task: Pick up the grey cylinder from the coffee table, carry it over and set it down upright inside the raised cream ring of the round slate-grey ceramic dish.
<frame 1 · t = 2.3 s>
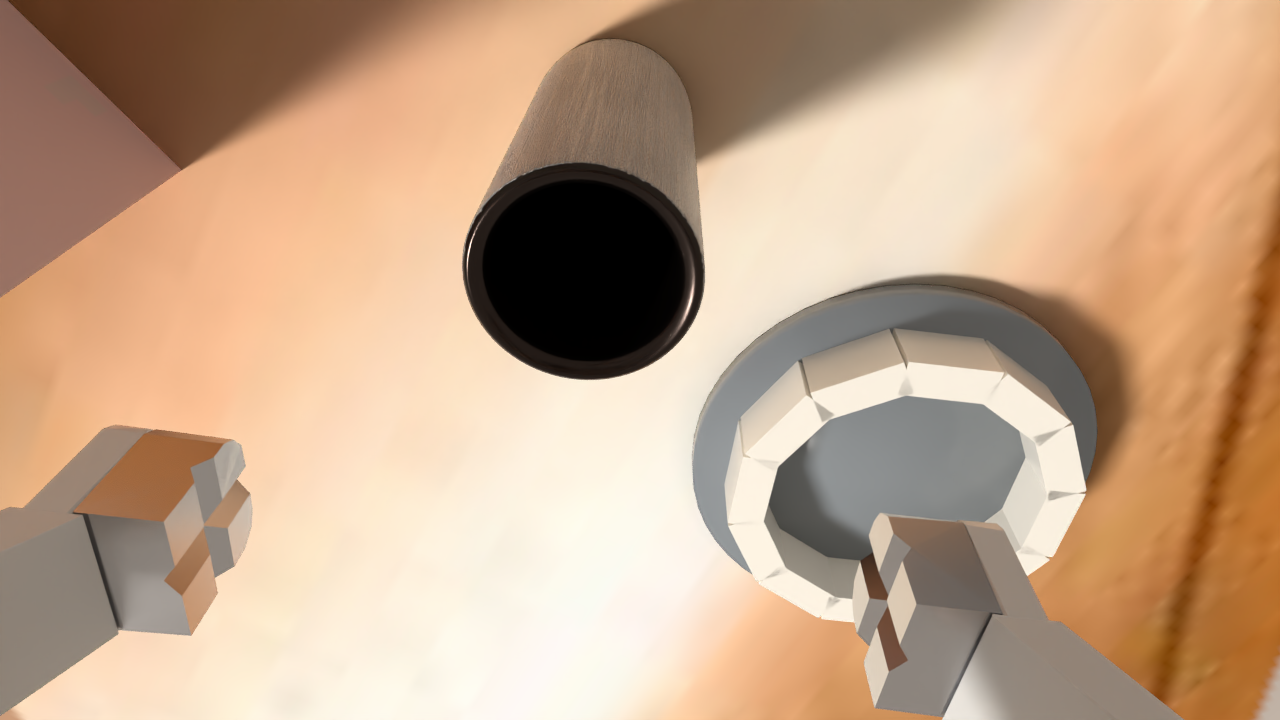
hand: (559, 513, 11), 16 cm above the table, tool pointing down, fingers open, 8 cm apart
greeting card: (17, 43, 24), on the table
ring dish: (884, 456, 31), on the table
grey cylinder: (613, 117, 24), on the table
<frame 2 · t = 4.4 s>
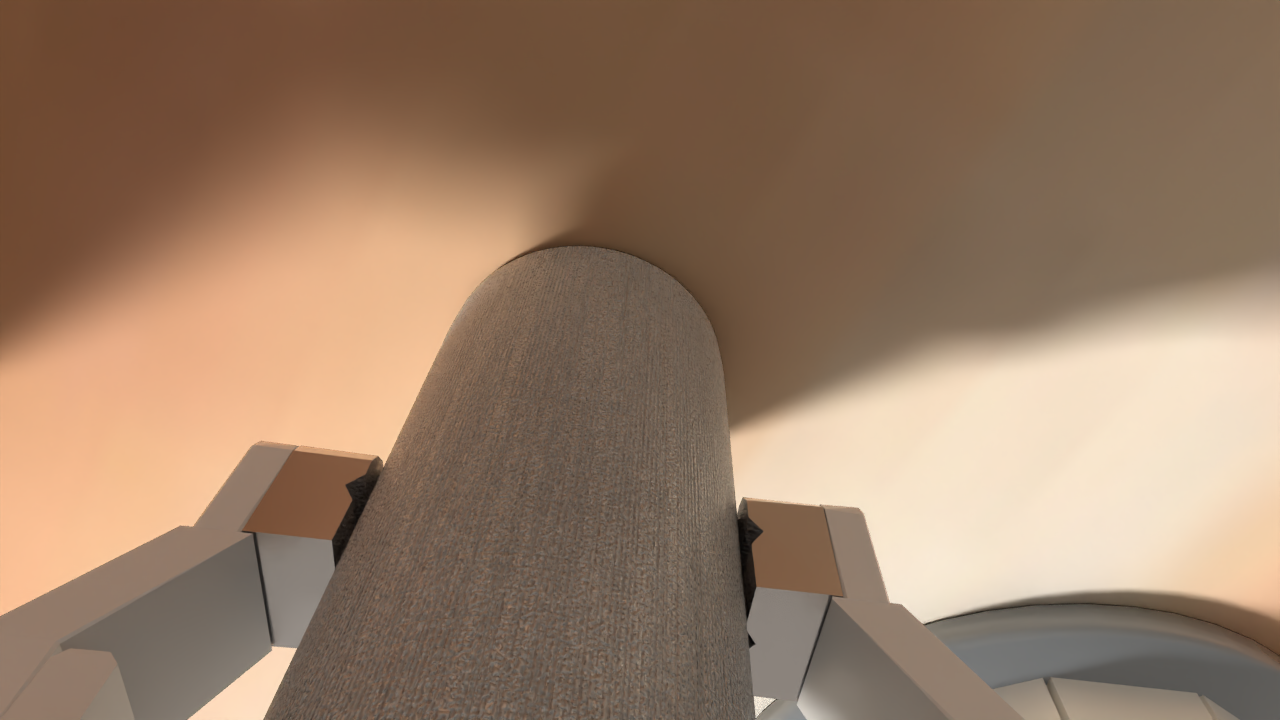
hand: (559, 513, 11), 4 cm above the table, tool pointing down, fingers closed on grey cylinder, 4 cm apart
grey cylinder: (586, 361, 14), on the table, touching gripper
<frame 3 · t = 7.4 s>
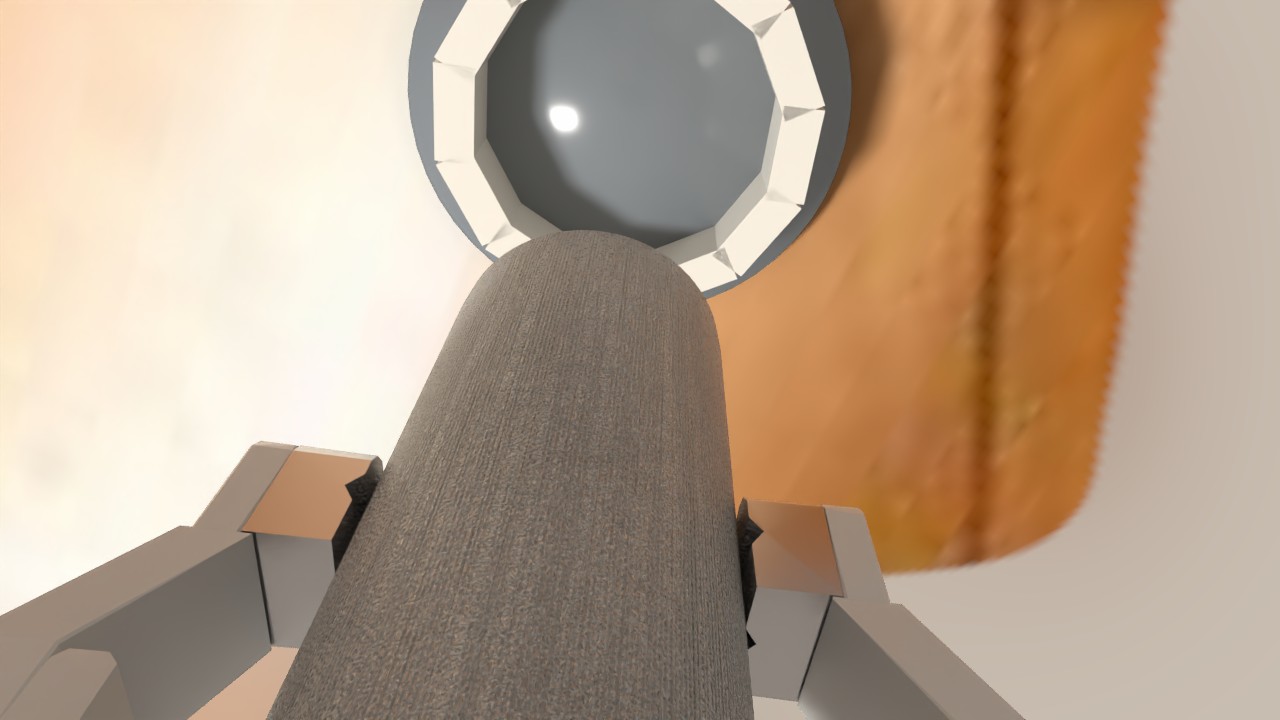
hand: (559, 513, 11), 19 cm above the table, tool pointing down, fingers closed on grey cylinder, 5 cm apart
ring dish: (629, 110, 27), on the table
grey cylinder: (590, 341, 15), point 15 cm above the table, touching gripper
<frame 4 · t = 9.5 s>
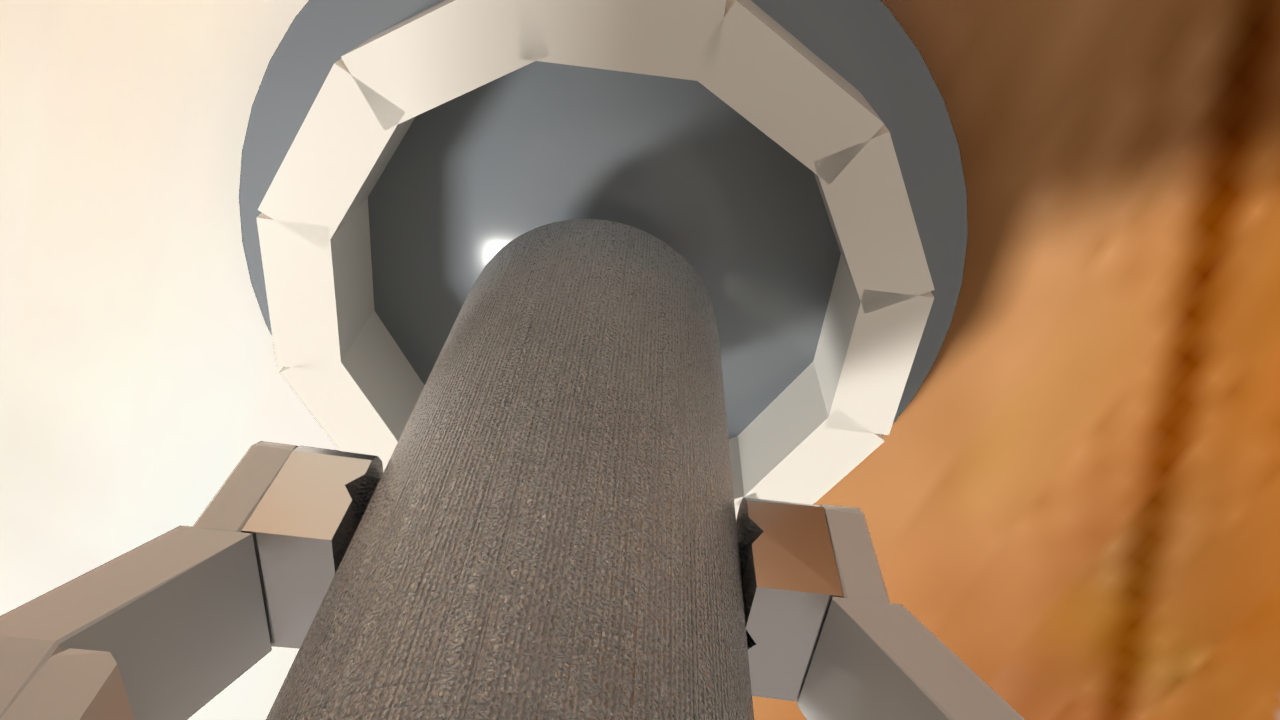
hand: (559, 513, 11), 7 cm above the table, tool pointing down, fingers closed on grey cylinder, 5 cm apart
ring dish: (603, 265, 17), on the table
grey cylinder: (592, 328, 15), point 2 cm above the table, touching gripper
when the fingers open (6 cm above the table, at t = 10.7 s): grey cylinder stays where it is, resting on ring dish.
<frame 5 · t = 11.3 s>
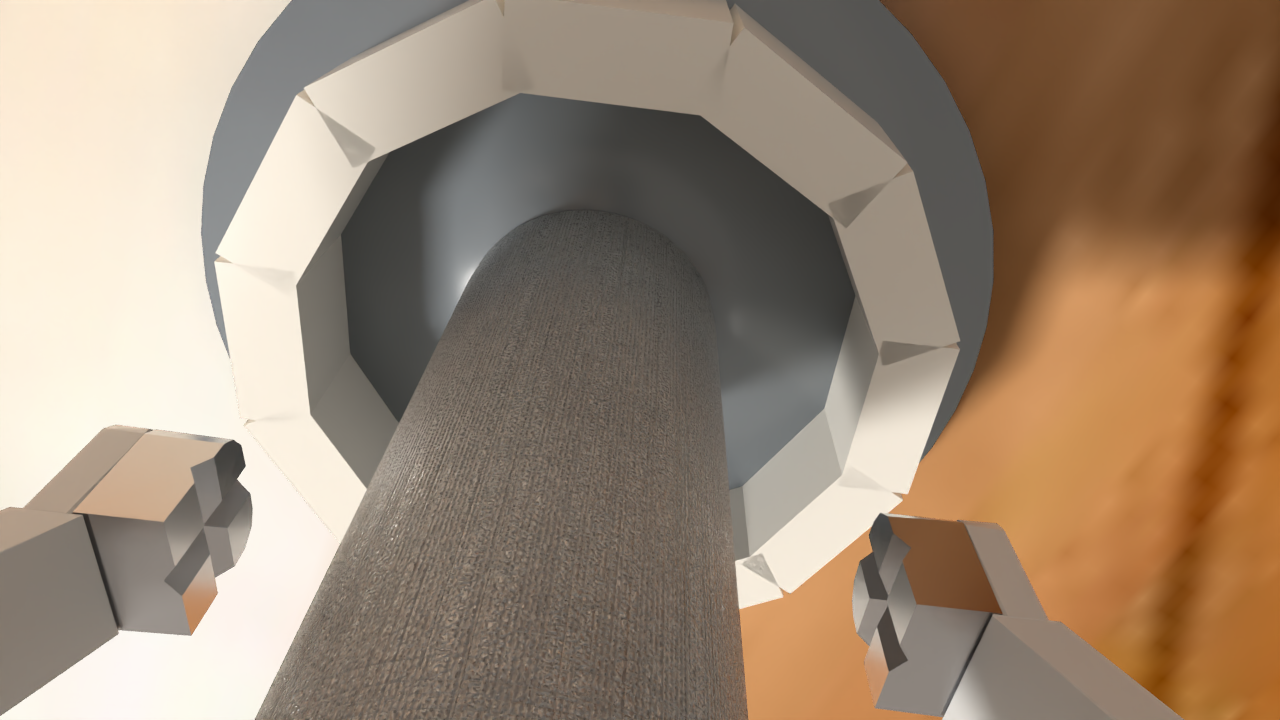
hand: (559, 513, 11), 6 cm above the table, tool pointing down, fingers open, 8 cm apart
ring dish: (597, 305, 16), on the table
grey cylinder: (590, 319, 15), point 1 cm above the table, touching ring dish
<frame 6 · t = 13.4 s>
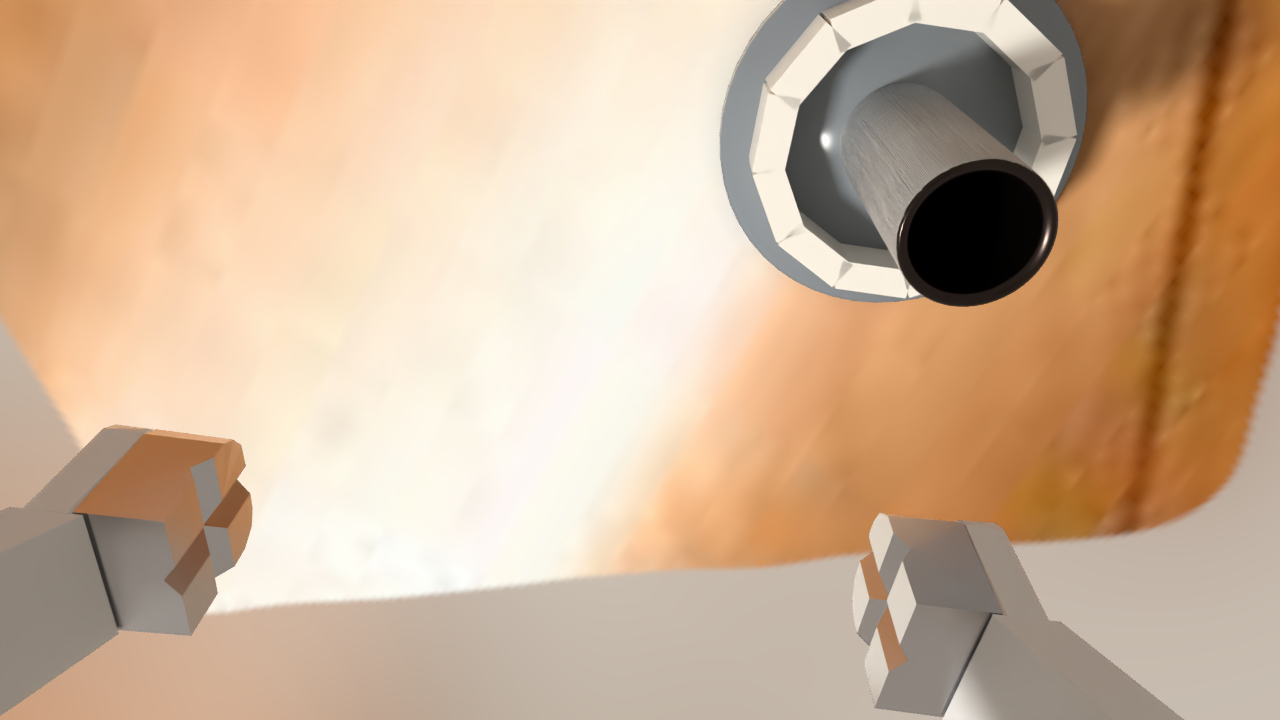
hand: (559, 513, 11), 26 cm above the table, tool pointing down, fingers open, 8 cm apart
ring dish: (894, 135, 34), on the table
grey cylinder: (896, 139, 33), point 1 cm above the table, touching ring dish
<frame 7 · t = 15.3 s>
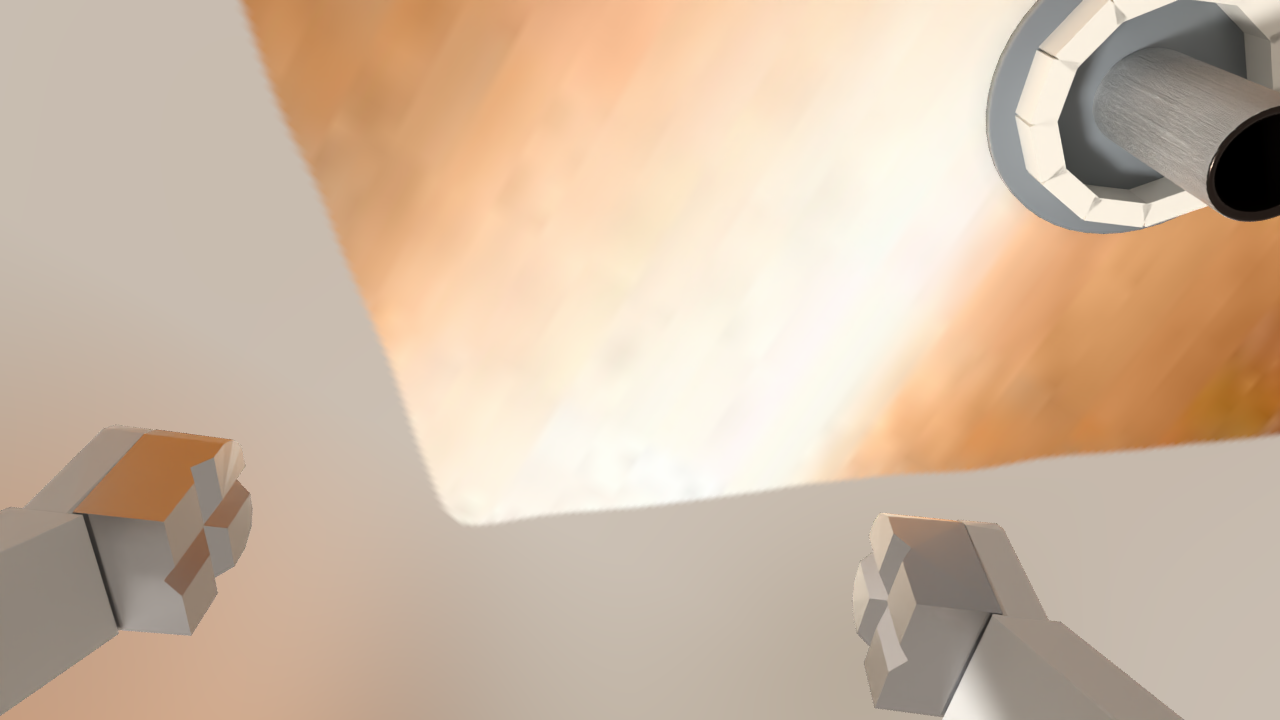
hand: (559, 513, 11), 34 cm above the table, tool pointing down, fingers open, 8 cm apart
ring dish: (1135, 92, 41), on the table
grey cylinder: (1139, 95, 40), point 1 cm above the table, touching ring dish
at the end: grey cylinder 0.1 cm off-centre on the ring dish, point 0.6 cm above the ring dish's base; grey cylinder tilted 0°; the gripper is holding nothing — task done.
